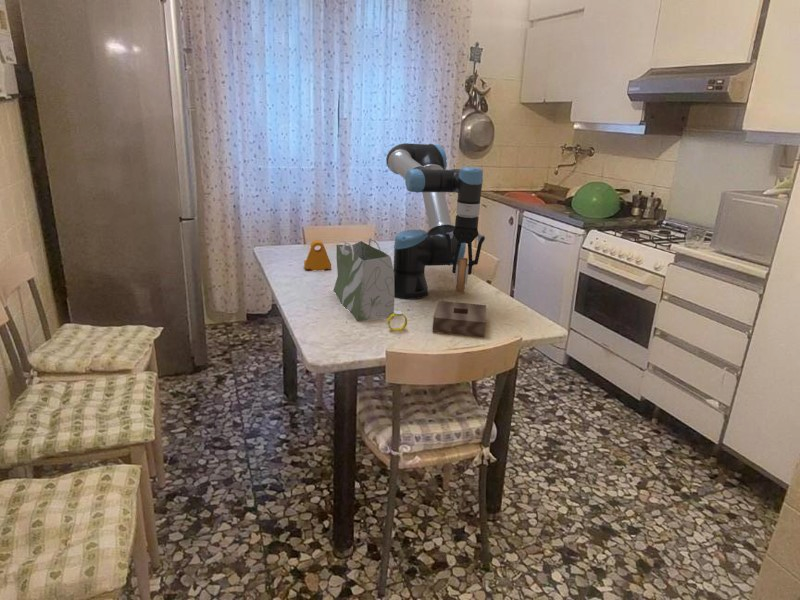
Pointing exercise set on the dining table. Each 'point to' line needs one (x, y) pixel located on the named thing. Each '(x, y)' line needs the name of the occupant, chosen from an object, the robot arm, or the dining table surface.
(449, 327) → the socket block
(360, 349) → the dining table surface
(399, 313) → the yellow ring
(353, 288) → the grocery bag
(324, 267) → the bracket
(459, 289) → the peg
